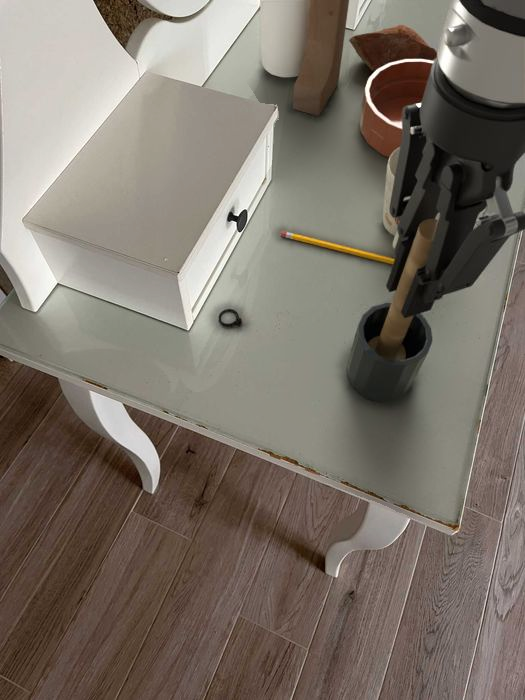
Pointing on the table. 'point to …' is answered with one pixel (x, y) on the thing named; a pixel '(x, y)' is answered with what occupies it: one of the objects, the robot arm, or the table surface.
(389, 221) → the mug
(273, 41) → the cup
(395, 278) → the robot arm
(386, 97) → the bowl
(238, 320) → the ring
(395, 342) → the stirring stick
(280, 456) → the table surface
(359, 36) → the fossil
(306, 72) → the wooden block
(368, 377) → the utensil pot
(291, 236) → the pencil
